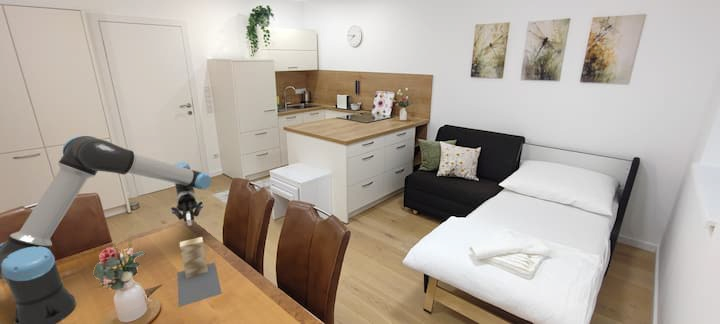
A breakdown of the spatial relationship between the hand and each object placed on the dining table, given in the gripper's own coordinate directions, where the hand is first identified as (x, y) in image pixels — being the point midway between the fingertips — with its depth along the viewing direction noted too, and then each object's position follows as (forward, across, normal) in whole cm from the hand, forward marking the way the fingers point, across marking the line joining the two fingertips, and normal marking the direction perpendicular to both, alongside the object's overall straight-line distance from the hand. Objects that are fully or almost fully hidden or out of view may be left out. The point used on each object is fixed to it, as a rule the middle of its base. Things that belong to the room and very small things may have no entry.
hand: (189, 222), depth 135 cm
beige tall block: (+10, 0, -18) cm, 20 cm away
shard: (+14, +19, -19) cm, 30 cm away
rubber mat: (+17, 0, -18) cm, 25 cm away
